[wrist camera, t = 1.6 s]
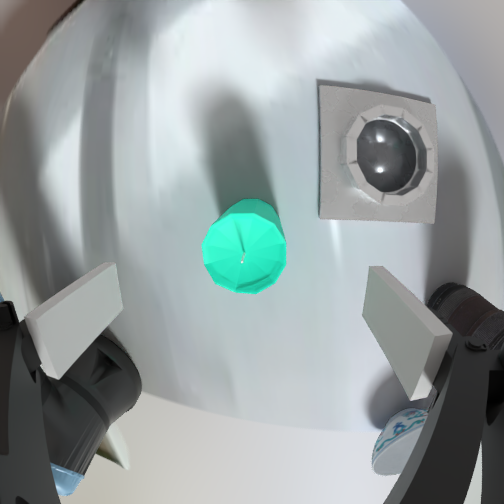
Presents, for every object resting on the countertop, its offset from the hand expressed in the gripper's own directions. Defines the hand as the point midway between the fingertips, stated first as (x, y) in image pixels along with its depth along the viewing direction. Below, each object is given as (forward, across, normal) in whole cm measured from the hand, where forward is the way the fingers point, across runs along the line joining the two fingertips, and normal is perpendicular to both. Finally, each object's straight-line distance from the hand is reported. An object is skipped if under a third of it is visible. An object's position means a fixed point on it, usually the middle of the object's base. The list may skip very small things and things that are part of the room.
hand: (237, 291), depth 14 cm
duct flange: (+16, +14, +8) cm, 23 cm away
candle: (+17, 0, 0) cm, 17 cm away
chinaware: (+17, +26, -33) cm, 45 cm away
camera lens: (+17, +26, -10) cm, 32 cm away
